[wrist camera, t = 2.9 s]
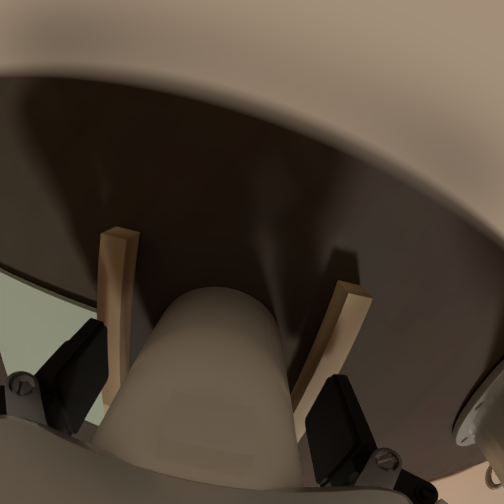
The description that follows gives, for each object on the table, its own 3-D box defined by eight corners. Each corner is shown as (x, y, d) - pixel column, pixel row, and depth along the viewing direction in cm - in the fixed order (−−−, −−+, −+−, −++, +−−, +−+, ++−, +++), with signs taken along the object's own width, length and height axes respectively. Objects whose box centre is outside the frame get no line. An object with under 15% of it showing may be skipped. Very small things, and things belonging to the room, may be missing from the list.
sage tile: (105, 311, 13) (101, 315, 12) (112, 426, 15) (110, 430, 15) (-12, 262, 12) (-16, 263, 12) (10, 375, 14) (8, 377, 14)
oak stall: (360, 285, 12) (372, 298, 11) (287, 438, 15) (289, 455, 14) (116, 226, 12) (101, 233, 10) (112, 399, 14) (104, 415, 13)
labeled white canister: (302, 287, 12) (371, 464, 4) (255, 414, 14) (256, 553, 6) (168, 255, 12) (41, 396, 3) (153, 391, 14) (104, 522, 5)
